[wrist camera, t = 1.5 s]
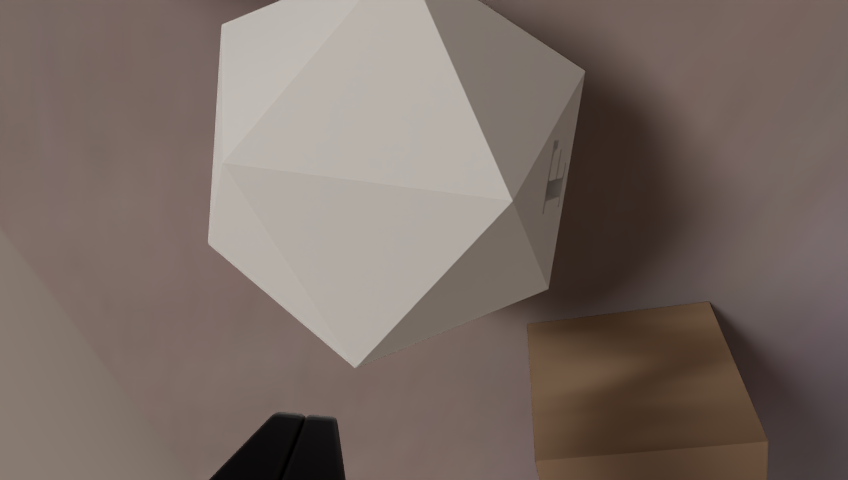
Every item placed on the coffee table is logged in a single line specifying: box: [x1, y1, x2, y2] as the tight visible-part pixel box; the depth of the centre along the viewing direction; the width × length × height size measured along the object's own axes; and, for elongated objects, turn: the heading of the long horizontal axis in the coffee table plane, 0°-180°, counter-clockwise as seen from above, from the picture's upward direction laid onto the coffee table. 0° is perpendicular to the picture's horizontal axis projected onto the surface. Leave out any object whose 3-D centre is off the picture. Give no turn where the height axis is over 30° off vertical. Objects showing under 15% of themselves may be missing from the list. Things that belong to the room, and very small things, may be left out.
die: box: [208, 0, 585, 368], centre depth 17 cm, size 8×9×10 cm
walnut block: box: [527, 302, 768, 480], centre depth 22 cm, size 6×6×6 cm
